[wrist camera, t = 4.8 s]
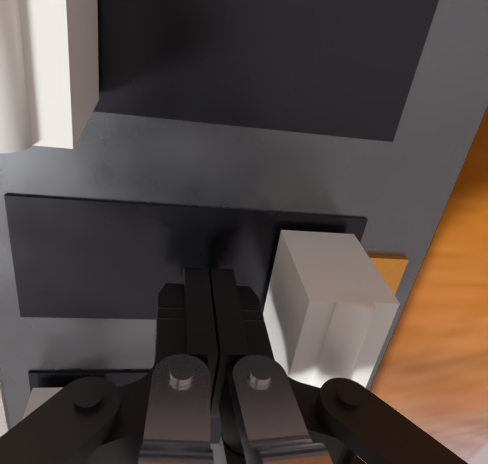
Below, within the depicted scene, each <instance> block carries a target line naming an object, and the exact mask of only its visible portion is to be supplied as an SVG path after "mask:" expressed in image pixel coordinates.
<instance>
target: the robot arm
mask: <svg viewBox="0 0 488 464" xmlns="http://www.w3.org/2000/svg"><path fill="white" fill-rule="evenodd" d="M219 417H220V422H221V433H220V438H219V450H220V455H221V461H222V464H366V463H367V464H468V463H466V462H465V461H464V460H462V459H461V458H460V457H458V456H457V455H456V454H454V453H453V452H452V451H450V450H449V449H448V448H446V447H445V446H443V445H442V444H441V443H439V442H438V441H437V440H435V439H434V438H433V437H431V436H430V435H429V434H427V433H426V432H424V431H423V430H422V429H420V428H419V427H418V426H416V425H415V424H414V423H412V422H411V421H410V420H408V419H407V418H406V417H404V416H403V415H401V414H400V413H399V412H397V411H396V410H395V409H393V408H392V407H391V406H389V405H388V404H387V403H385V402H384V401H382V400H381V399H380V398H378V397H377V396H376V395H374V394H373V393H372V392H370V391H369V390H368V389H366V388H365V387H364V386H362V385H361V384H359V383H357V382H355V381H353V380H350V379H347V378H332V379H329V380H327V381H326V382H325V383H324V384H323V385H322V387H321V388H319V387H315V386H312V385H308V384H304V383H301V382H298V381H296V380H294V379H292V378H290V377H288V376H287V374H286V372H285V370H284V369H283V367H282V366H281V365H280V364H279V363H278V362H276V361H275V359H274V356H273V352H272V348H271V344H270V340H269V336H268V332H267V328H266V324H265V322H264V316H263V313H262V309H261V305H260V301H259V297H258V296H257V295H256V294H255V292H254V291H253V290H252V289H251V288H250V286H237V285H236V280H235V275H234V270H233V269H217V268H209V270H208V268H194V267H184V270H183V278H182V284H180V283H166V284H165V285H164V286H163V288H162V289H161V291H160V292H159V294H158V305H157V319H156V332H155V354H154V366H153V367H152V369H151V370H150V372H149V373H148V374H147V375H145V376H144V377H143V378H141V379H140V380H137V381H135V382H133V383H130V384H126V385H123V386H119V387H117V386H116V385H115V384H114V383H112V382H111V381H109V380H107V379H105V378H101V377H84V378H80V379H77V380H75V381H73V382H71V383H69V384H68V385H66V386H65V387H64V388H62V389H61V390H60V391H58V392H57V393H56V394H55V395H53V396H52V397H51V398H50V399H48V400H47V401H46V402H44V403H43V404H42V405H41V406H39V407H38V408H37V409H35V410H34V411H33V412H32V413H30V414H29V415H28V416H27V417H25V418H24V419H23V420H21V421H20V422H19V423H18V424H16V425H15V426H14V427H13V428H11V429H10V430H9V431H7V432H6V433H5V434H4V435H2V436H1V437H0V464H214V457H213V450H212V449H211V448H210V418H219ZM358 456H359V457H360V458H361V459H362V460H363V461H362V460H361V459H360V458H359V457H358ZM364 461H365V462H366V463H365V462H364Z"/></svg>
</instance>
